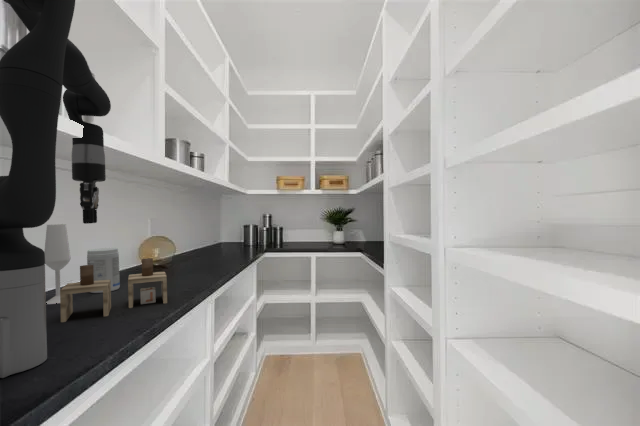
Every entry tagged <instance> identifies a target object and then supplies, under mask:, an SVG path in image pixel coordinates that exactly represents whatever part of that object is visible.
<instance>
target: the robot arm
mask: <svg viewBox="0 0 640 426" xmlns="http://www.w3.org/2000/svg"><path fill="white" fill-rule="evenodd" d="M6 1H7V3H8V4H9V6H10V7H11V8H12V10H13V11H14V12H15V14H16V15H17V16H18V18H19V19H20V21H21V22H22V23H23V25H24V26H25V28H26V29H27V30H28V33H27V34H26V35H24V36H23V37H22V38H21V39H20V40H18V41H17V42H16V43H15V44H14V45H13V46H11V47H10V48H9V49H8V50H6V52H5V54H3V56H2V57H1V58H0V118H1V120H2V122H3V124H4V126H5V128H6V130H7V132H8V134H9V137H10V141H11V145H12V147H11V148H12V153H11V161H10V162H11V163H10V168H9V172H8V175H0V379H4V378H7V377H8V376H10V375H15V374H19V373H21V372H24V371H27V370H31V369H33V368H36V367H37V366H39V365H42V364H43V363H45V361H47V359H48V343H47V342H48V341H47V339H48V338H47V337H48V335H47V304H46V302H47V299H46V295H47V294H46V293H47V292H46V264H45V253H44V251H45V250H43V248H41V247H38V246H36V245H34V244H32V243H31V242H29V240H28V239H27V238H26V237H25V234H24V233H25V232H24V229H32V228H38V227H40V226H42V225H44V224H46V223H47V222H48V221H49V220H50V219H51V218H52V215H53V213H54V210H55V206H56V202H57V201H56V199H57V175H56V173H57V170H56V166H57V165H56V151H57V150H56V149H57V137H58V123H59V115H60V109H61V102H62V101H63V106H64V108H65V111H66V113H67V114H66V115H67V116H68V119H70V120H73V121H75V122H77V123H79V124H81V125H83V126H84V128H83V137H82V138H72V137H71V139H72V148H71V179H72V181H76V182H79V186H80V187H79V194H80V195H79V200H80V202H79V204H80V208H81V209H82V224H89V225H90V224H96V223H97V222H98V212H97V211H98V208H99V200H100V199H99V195H100V189H99V187H98V186H96V185H97V184H96V183H97V182H98V183H100V182H105V181H106V180H107V179H106V176H107V175H106V153H105V147H104V146H105V145H104V143H105V141H104V130H103V128H102V127H101V126H100V125H98V124H95V123H90V122H86V121H84V120H83V116H84V117H86V116H87V117H106V116H108V114H109V113H110V111H111V107H112V105H111V100H110V97H109V95H108V94H107V92H106V91H105V89H103V88H102V86H101V85H100V84H99V83H98V81H97V80H96V79H95V78H94V76H93V74H92V71H91V69H90V65H89V64H88V61H87V59H86V57H85V56H84V54H83V53H82V52H81V50H80V49H79V47H78V46H77V45H75V44H74V43H73V42H72V41H71V40H70V39H69V35H70V31H71V27H72V21H73V18H74V12H75V7H76V0H6ZM63 88H65V89H66V90H65V91H64V92H62V91H63ZM62 93H63V95H62ZM70 120H69V121H70Z"/></svg>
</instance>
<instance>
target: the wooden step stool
mask: <svg viewBox="0 0 640 426" xmlns="http://www.w3.org/2000/svg"><path fill="white" fill-rule="evenodd" d="M93 291H103V293H102V299H103V300H102V301H103V302H102V305H103V307H102V308H103V310H102V311H103V318H104V317H109V314H110V311H111V309H112V291H111V279H109V280H98V281H94V267H93V265H87V264H84V265H79V282H78V281H77V282H68V283H67V284H65V285H64V286H63V287H62V288H60V303H59V304H60V305H59V306H60V307H59V308H60V323H66V322H67V321H68V319H69V318H70V316H71V315H72V314H73V312H74V307H73V306H74V305H73V301H74V300H73V297H74V295H75V294H81V293H82V294H83V293H91V292H93ZM73 294H74V295H73Z"/></svg>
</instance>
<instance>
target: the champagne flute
mask: <svg viewBox="0 0 640 426" xmlns="http://www.w3.org/2000/svg"><path fill="white" fill-rule="evenodd" d="M45 231H46V232H45V240H44V241H45V243H44V250H43V251H44V253H45V266H47V267H48V268H49V269H51V270H53V271H54V273H55V274H54V275H55V279H54V280H55V296H53V297H51V298H50V299H48V300H46V303H47V304H46V305H56V303H57V304H60V290H61V270H63V269H64V268H65V267H66V266H67V265H68V264H69V262H70V261H71V252H70V251H71V250H70V244H69V238H68V237H69V236H68V230H67V224H63V223H62V224H59V223H58V224H46V230H45Z"/></svg>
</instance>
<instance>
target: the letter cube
mask: <svg viewBox="0 0 640 426" xmlns="http://www.w3.org/2000/svg"><path fill="white" fill-rule="evenodd" d="M139 291H140V292H139V293H140V294H139V295H140V305H146V304H154V303H156V301H157V300H156V299H157V296H156V287H155V286H152V287H142V288H140V290H139Z"/></svg>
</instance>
